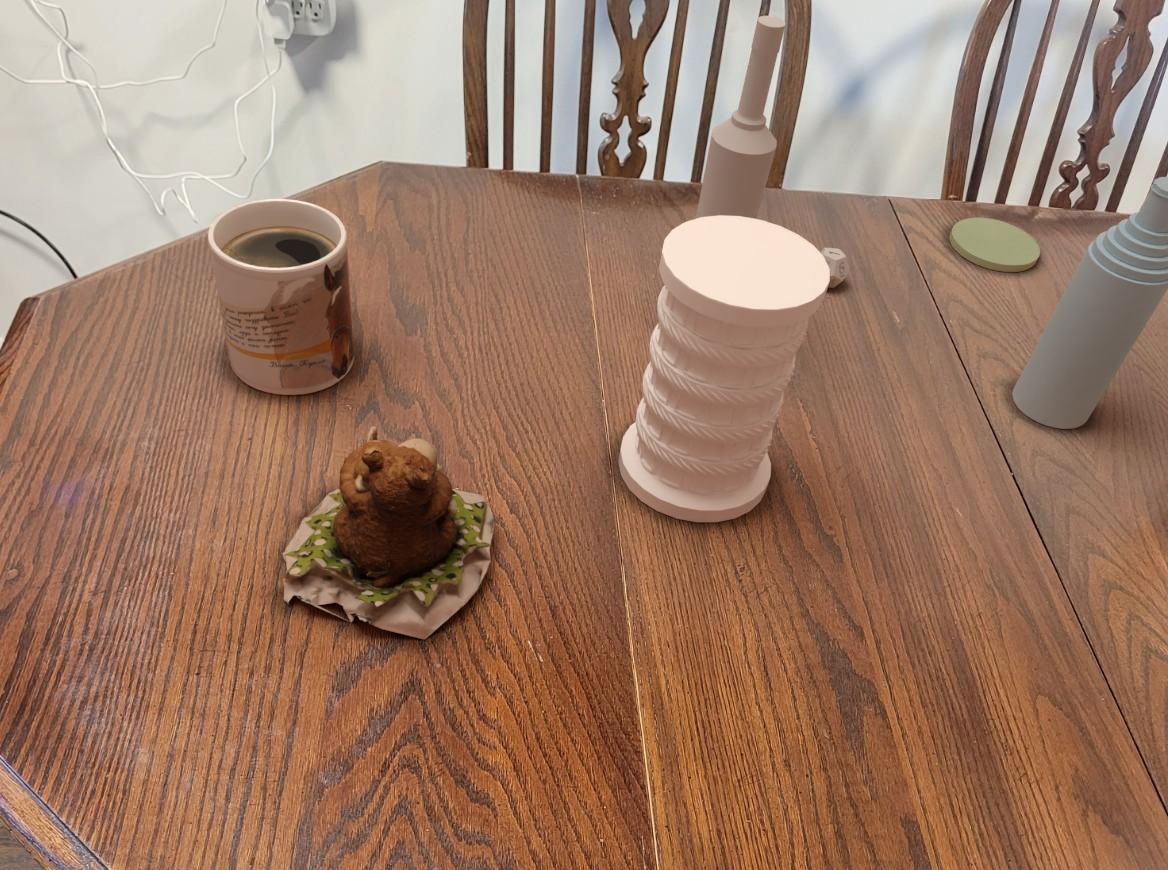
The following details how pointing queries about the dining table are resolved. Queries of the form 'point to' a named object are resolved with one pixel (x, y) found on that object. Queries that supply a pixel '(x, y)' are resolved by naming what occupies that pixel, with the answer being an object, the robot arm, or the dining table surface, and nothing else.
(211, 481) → the dining table surface
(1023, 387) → the bottle
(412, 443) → the bear figurine
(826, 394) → the dining table surface
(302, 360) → the mug
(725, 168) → the bottle
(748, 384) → the decorative container
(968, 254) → the coaster
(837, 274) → the game die
